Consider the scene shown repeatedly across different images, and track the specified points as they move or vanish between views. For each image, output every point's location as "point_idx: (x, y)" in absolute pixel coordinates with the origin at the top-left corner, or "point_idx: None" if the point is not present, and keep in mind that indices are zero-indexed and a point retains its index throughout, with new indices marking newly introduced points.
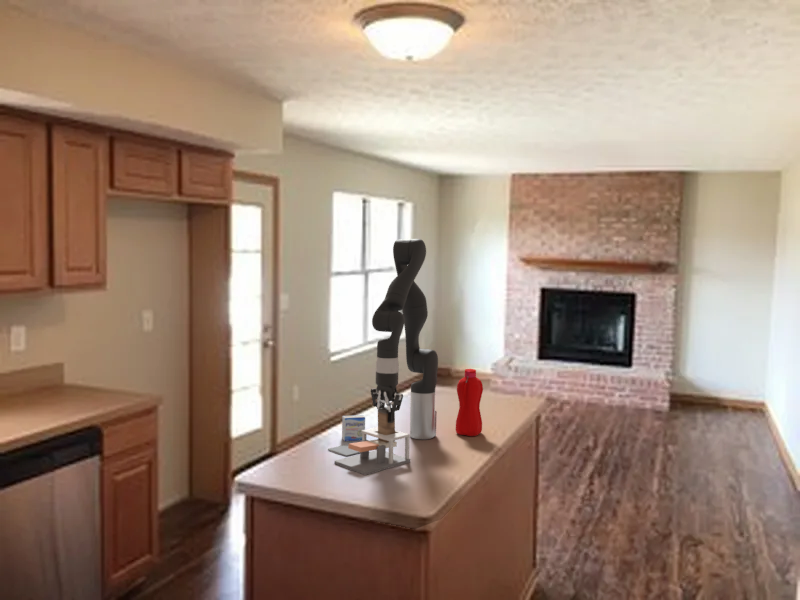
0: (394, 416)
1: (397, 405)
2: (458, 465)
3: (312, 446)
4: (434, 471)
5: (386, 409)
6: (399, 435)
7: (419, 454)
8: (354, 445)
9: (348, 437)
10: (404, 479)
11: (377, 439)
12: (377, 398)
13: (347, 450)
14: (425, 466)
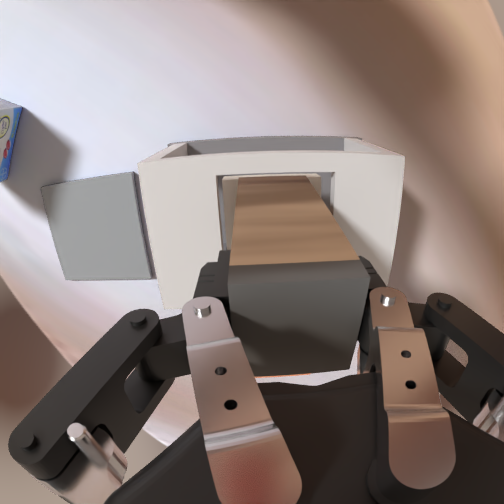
0: (378, 274)
1: (456, 335)
2: (474, 57)
3: (25, 285)
4: (466, 159)
5: (321, 346)
6: (381, 218)
7: (304, 32)
8: (273, 376)
9: (2, 168)
10: (440, 275)
11: (228, 233)
12: (114, 385)
13: (103, 243)
14: (424, 137)
